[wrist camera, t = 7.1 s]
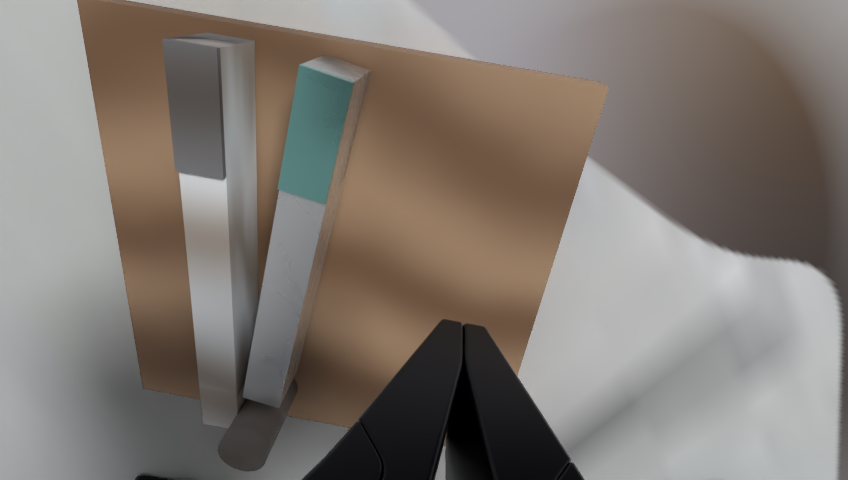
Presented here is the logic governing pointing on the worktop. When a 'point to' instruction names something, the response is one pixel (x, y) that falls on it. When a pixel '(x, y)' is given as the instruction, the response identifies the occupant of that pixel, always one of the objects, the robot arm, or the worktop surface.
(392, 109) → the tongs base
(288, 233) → the hinged jaw
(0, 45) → the worktop surface
